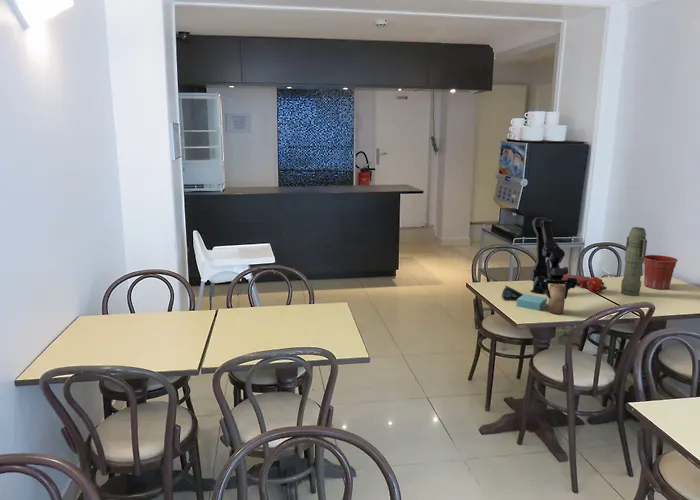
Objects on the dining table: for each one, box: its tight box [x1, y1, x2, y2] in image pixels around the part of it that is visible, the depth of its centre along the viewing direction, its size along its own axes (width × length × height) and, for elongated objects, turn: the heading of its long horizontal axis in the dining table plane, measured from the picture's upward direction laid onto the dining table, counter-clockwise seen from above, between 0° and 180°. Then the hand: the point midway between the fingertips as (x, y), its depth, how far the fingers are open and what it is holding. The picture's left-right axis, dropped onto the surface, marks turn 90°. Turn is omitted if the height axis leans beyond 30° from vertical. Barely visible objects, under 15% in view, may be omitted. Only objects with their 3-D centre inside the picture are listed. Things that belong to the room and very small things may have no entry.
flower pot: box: [643, 254, 679, 290], centre depth 297 cm, size 16×16×16 cm
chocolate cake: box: [501, 285, 525, 302], centre depth 275 cm, size 10×7×12 cm
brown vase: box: [547, 284, 566, 314], centre depth 254 cm, size 7×7×12 cm
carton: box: [561, 273, 591, 289], centre depth 307 cm, size 12×5×25 cm
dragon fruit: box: [586, 276, 608, 294], centre depth 287 cm, size 8×8×12 cm
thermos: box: [620, 226, 648, 297], centre depth 282 cm, size 9×12×35 cm
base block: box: [515, 293, 548, 311], centre depth 264 cm, size 11×11×4 cm
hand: (557, 298), depth 252 cm, fingers closed on brown vase, 7 cm apart
